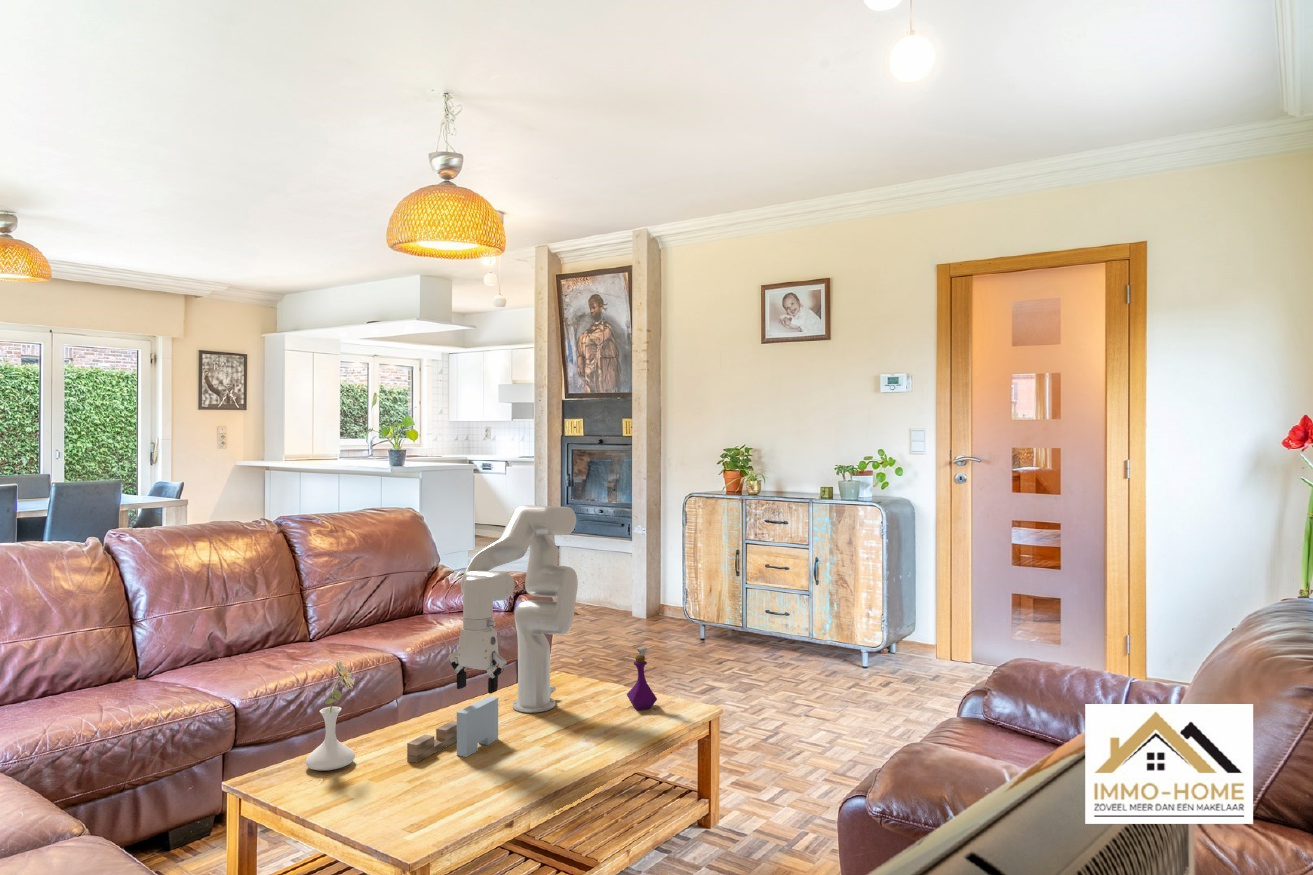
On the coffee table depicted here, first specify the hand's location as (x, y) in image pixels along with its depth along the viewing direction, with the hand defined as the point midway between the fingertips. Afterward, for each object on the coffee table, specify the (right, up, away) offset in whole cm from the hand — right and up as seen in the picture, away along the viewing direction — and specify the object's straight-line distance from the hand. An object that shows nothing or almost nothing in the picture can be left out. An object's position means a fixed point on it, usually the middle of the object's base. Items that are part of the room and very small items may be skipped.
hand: (476, 689), depth 218 cm
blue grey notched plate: (0, -15, +1) cm, 15 cm away
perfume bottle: (+42, -15, +33) cm, 55 cm away
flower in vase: (-33, -15, -11) cm, 38 cm away
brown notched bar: (-10, -15, -1) cm, 18 cm away
